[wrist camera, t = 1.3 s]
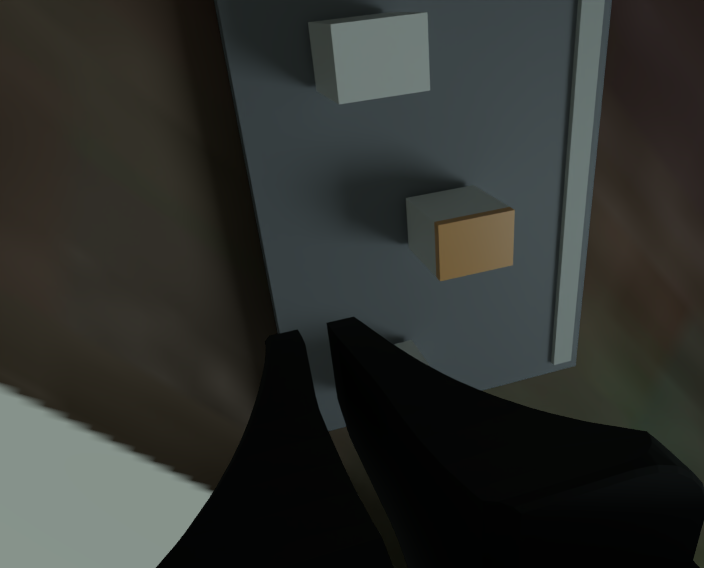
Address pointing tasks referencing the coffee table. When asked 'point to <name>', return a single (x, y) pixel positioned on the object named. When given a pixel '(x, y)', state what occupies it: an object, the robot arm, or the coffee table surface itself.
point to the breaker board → (424, 179)
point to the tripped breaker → (460, 232)
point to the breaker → (371, 56)
